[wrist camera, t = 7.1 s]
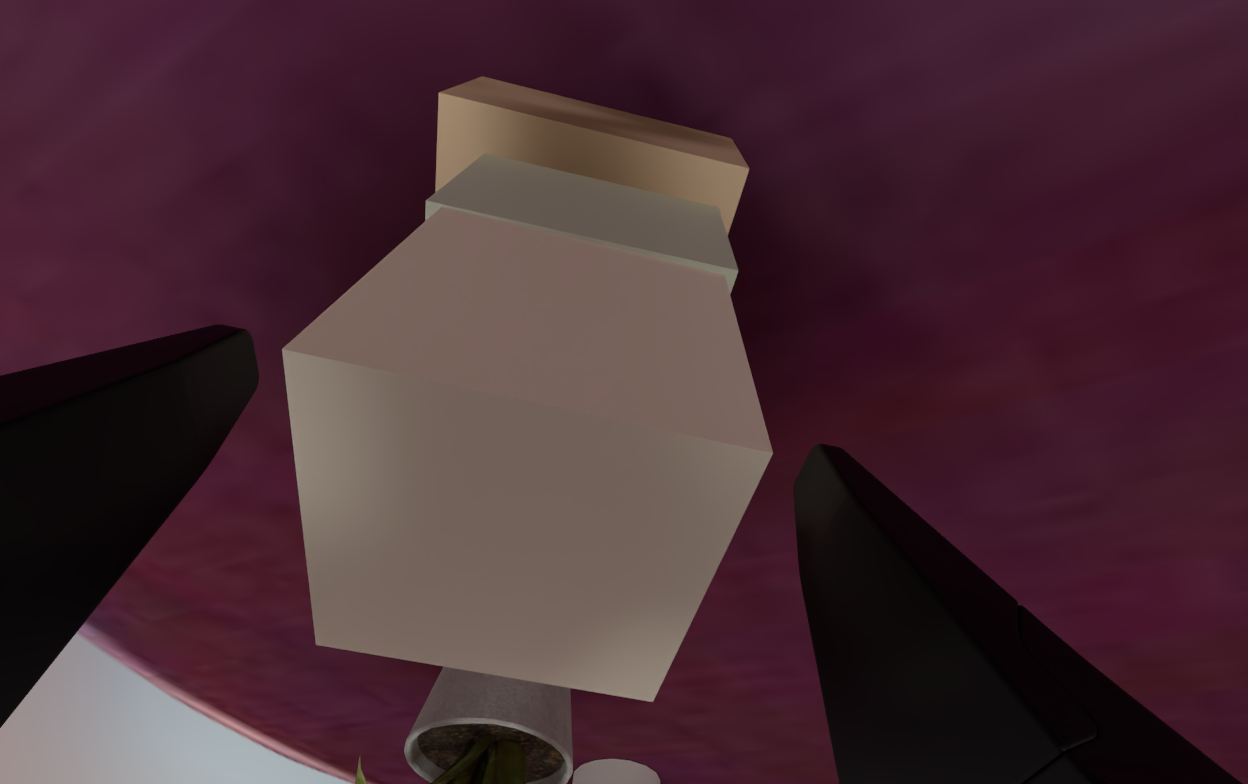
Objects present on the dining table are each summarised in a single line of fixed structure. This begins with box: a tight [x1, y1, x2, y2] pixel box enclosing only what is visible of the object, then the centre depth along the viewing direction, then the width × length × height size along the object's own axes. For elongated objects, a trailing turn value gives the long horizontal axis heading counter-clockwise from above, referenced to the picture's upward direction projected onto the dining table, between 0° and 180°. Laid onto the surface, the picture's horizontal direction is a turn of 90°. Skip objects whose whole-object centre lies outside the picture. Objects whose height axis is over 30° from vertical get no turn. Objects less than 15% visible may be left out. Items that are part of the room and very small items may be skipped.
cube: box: [282, 207, 773, 702], centre depth 9 cm, size 5×5×5 cm
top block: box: [425, 153, 738, 294], centre depth 13 cm, size 6×6×4 cm
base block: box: [435, 76, 749, 236], centre depth 16 cm, size 7×7×4 cm
